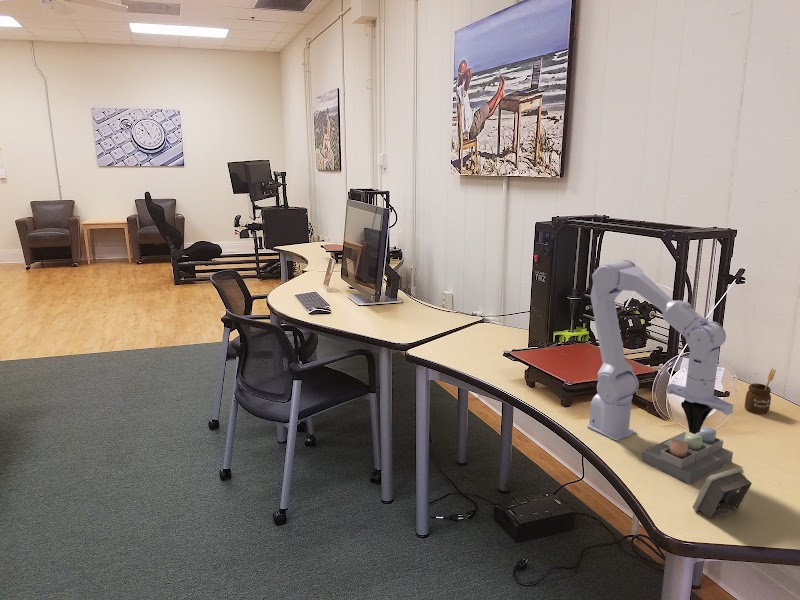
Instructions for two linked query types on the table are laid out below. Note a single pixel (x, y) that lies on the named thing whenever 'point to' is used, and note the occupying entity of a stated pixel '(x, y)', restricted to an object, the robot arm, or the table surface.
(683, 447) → the terracotta button
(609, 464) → the table surface
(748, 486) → the electrical switch
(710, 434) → the slate button
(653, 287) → the robot arm
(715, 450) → the console
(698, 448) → the sage button
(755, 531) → the table surface
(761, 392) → the utensil holder
